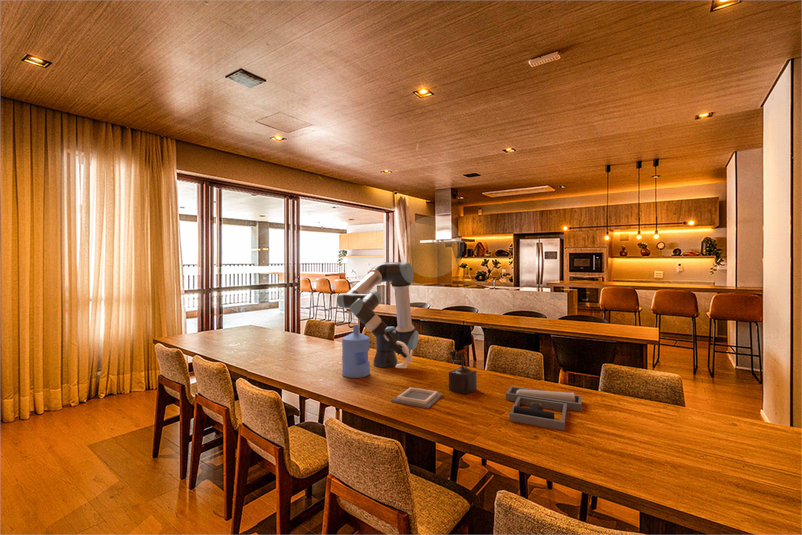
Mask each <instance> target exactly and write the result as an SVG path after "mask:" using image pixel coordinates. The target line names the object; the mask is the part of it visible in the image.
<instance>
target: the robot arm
mask: <svg viewBox="0 0 802 535" xmlns="http://www.w3.org/2000/svg"><path fill="white" fill-rule="evenodd" d="M414 277H415V273H414V267H413V266H412V264H411V263H410V262H406V261H405V262H404V261H395V262H392V261H390V262H388V261H387V262H382V263H381V262H380V263H379V264H377V265H375V266H374V267H372V268H371V269H369V271H367V274H366V275H365V276H364V277H363V278H362V279H361V280H360V281H358V282H357V283H356V284H355V285H354V286H353V287H352V288H350V290H348V291H347V292H346V293H345V292H342V293H341V292H340V293H339V294H338V295H337V297H336V303H337V306H338V308H342V309H343V308H344V309H349V310H350V312H351V313H352V314H353V316H354V317H356V318H357V319H358V320H359V322H360V323H362V324H363V325H364V328H365V329H368V330H369V331H371V333H372V334H373V336H375V343H376V344H375V346H376V347H375V348H376V350H375V355H374V358H373V366H375V367H377V368H393V367H395V366H396V365H397V364H399V363H398V357H397V356H400V357H401V358H402V359H403V360H404V361H406V364H407V365H408V364H410V363H411V362H413V356H412V355H411V354H410V353H409V355H408V354H407V353H406V351H405V349H404V348H403V347H402V346H401V345H398V344H397V343H396V342H397V341H401V342H403V343H405V344H406V345H407V347H408V349H409V351H413V350H415V349H416V348H417V346H418V342H419V337H420V336H419V330H416V329H415V326H414V325H413V324H412V312H411V300H410V298H411V297H410V286H411V285H412V283H413V281H414V279H415V278H414ZM385 282H387V283H391V287H392V288H394V290H393V291H394V297H395V298H394V299H395V309H396V312H395V313H396V321H397V326H396V327H395V326H388V325H387V324H386V322H384V321H383V320H382V318H381V317H380V316H379V315H378V314H377V313H375V311H374V310H375V309H376V308H377V307H378V306H379V305H380V303H381V302H382V297H381V294H380V293H379V291H376V290H372V289H373V288H374V287H375V286H376V285H379V284H381V283H385Z"/></svg>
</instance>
